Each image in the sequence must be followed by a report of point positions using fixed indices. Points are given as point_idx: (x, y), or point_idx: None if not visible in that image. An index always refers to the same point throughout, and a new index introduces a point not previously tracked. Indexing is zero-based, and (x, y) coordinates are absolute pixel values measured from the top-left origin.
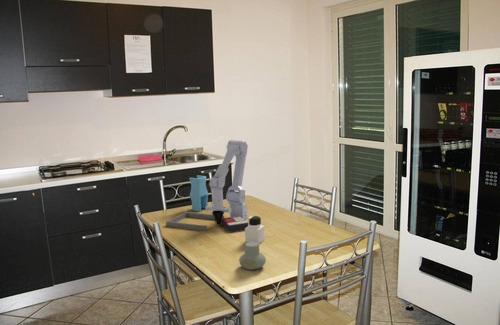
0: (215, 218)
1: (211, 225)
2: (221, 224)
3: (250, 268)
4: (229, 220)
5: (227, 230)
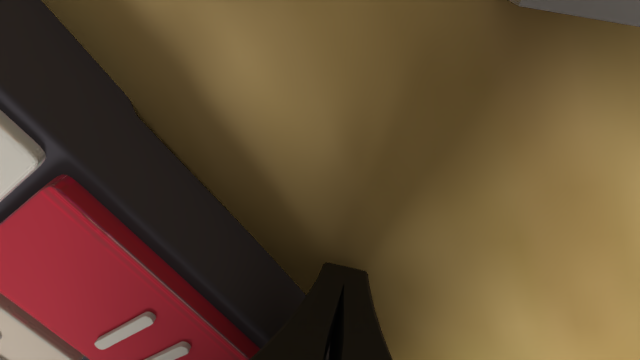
0: (373, 353)
1: (473, 279)
2: None
3: None
4: (104, 314)
5: (96, 64)
